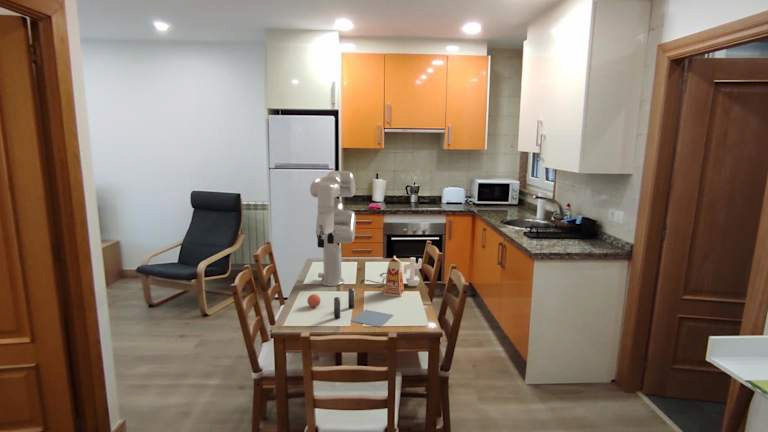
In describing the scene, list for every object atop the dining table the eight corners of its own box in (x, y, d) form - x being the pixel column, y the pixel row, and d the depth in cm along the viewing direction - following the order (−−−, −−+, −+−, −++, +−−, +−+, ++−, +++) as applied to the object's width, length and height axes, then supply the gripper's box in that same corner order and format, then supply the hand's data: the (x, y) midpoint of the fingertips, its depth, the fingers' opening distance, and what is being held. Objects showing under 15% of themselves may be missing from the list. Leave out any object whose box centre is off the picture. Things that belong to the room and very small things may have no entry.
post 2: (347, 308, 205) (347, 289, 204) (350, 306, 208) (350, 287, 206) (352, 309, 204) (352, 290, 203) (355, 307, 207) (355, 288, 205)
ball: (304, 307, 205) (304, 295, 204) (312, 303, 210) (311, 291, 209) (316, 310, 203) (315, 297, 201) (323, 305, 208) (322, 293, 207)
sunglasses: (380, 289, 234) (380, 279, 233) (359, 282, 244) (359, 273, 243) (400, 281, 247) (400, 272, 246) (379, 275, 256) (380, 267, 255)
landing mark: (350, 321, 191) (350, 320, 191) (365, 309, 204) (365, 309, 204) (380, 327, 186) (380, 326, 185) (393, 315, 198) (393, 314, 198)
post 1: (333, 318, 194) (333, 298, 192) (336, 316, 196) (336, 296, 194) (338, 319, 193) (338, 299, 191) (341, 317, 195) (341, 297, 193)
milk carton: (401, 296, 222) (402, 257, 218) (383, 295, 223) (383, 256, 220) (404, 290, 230) (405, 253, 227) (386, 289, 232) (387, 251, 229)
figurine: (402, 282, 243) (403, 256, 240) (419, 282, 244) (420, 255, 241) (404, 287, 236) (405, 259, 233) (422, 286, 237) (423, 259, 234)
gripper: (327, 207, 219) (327, 241, 222) (309, 211, 203) (309, 248, 206) (340, 208, 217) (340, 242, 219) (324, 212, 201) (324, 249, 203)
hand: (325, 245), depth 212 cm, fingers open, 9 cm apart
